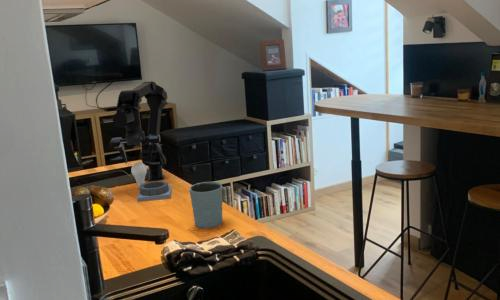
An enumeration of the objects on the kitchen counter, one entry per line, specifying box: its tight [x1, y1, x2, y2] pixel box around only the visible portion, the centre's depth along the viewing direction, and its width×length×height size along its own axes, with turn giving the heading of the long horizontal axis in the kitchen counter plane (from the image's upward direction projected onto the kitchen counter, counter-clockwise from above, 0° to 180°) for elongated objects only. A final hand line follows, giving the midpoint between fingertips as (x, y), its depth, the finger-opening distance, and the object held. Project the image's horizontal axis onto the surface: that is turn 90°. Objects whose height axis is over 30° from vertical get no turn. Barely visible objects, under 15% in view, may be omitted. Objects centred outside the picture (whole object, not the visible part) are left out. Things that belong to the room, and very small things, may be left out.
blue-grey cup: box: [189, 181, 223, 229], centre depth 146 cm, size 10×10×12 cm
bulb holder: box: [136, 180, 173, 203], centre depth 180 cm, size 12×12×4 cm
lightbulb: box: [130, 161, 148, 189], centre depth 188 cm, size 6×6×11 cm
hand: (138, 161), depth 187 cm, fingers open, 9 cm apart
